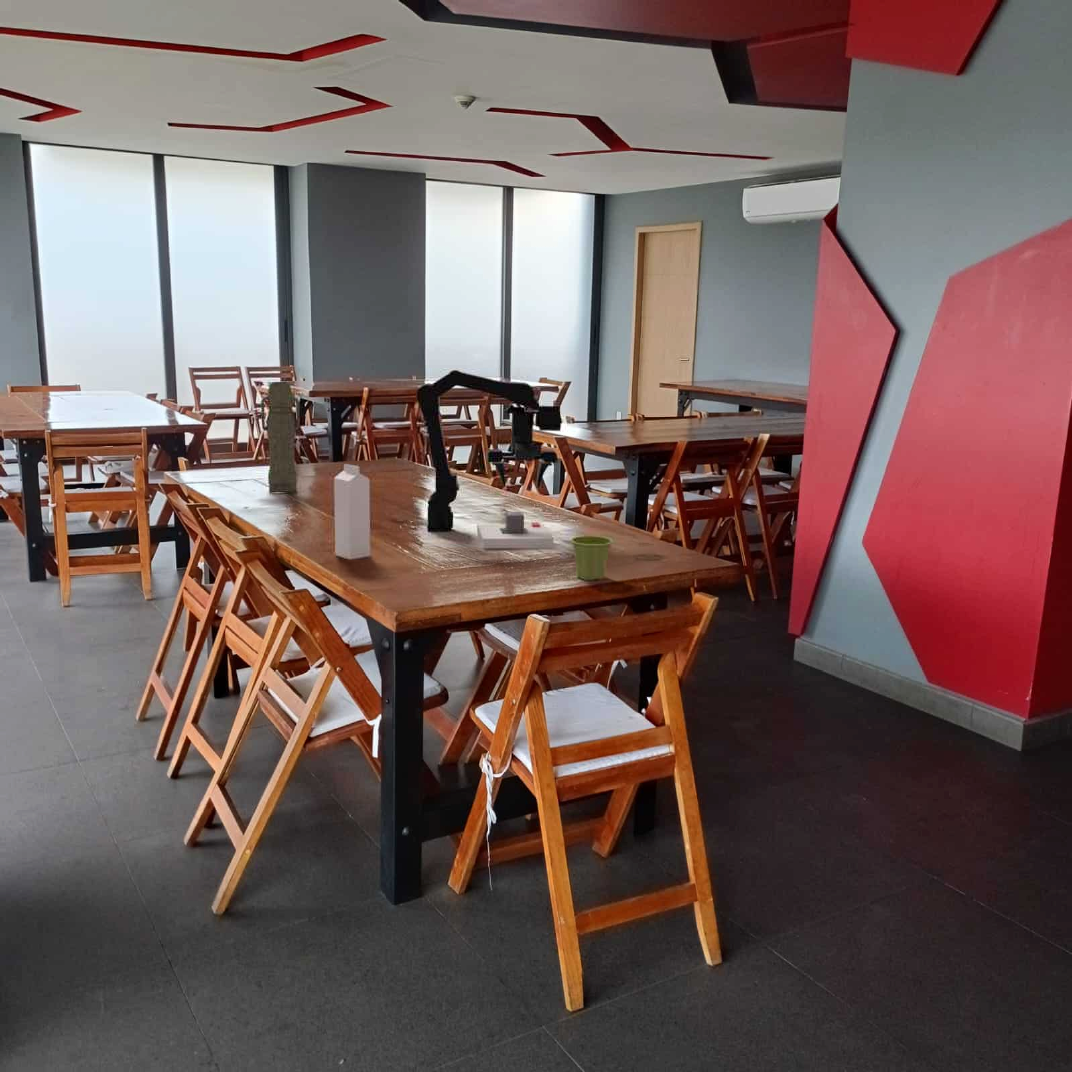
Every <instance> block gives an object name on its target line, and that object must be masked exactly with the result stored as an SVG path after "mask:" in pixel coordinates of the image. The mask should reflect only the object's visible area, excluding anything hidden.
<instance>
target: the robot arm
mask: <svg viewBox="0 0 1072 1072" xmlns="http://www.w3.org/2000/svg"><path fill="white" fill-rule="evenodd" d="M457 386H458V387H461V388H466V389H469V390H475V391H479V392H482V393H487V394H491V395H495V396H498V397H501V398H504V399H505V400H508V401H509V402H512V403H510V404H509V406H508V407H507V408H506V409H505V410H504V412H505V414H511V439H510V440H511V441H510V442H511V443H510V444H511V446H510V448H511V449H510V452H509V451H508V452H503V450H502V449H500V448H499V449H494V448H493V449H487V451H486V457H485V459H486V461H487V463H491V464H492V466H495V468H496V470H497V472H498V475H499V478H500V481H501V484H502V487H503V489H504V488H506V479H505V465H504V462H503V460H516V461H517V462H524V461H525V462H526V461H528V462H533V461H534V460H538V466H537V472H536V473H537V474H536V475H537V476H536V488H537V489H539V487H540V485H541V482H542V480H543V477H544V474H545V472H546V470H547V469H548V467H551V466H553V464H555V463H558V454H557V453H556V451H554V449H542V442H541V441H540V442H536V441H535V442H534V440H533V438H534V436H533V434H534V433H533V432H534V418H535V427H537V428H538V429H539V431H541V432H542V431H543V432H548V431H549V432H561V430H562V429H561V427H562V418H561V406H560V405H557V404H556V405H540V402H539V401H537V400H536V398H535V391H534V389H533V387H532V386H531V385H530V384H529V383H527V382H523V381H522V382H518V381H502V380H497V379H492V378H488V377H484V376H480V375H474V374H472V373H466V372H463V371H460V370H459V369H453V370H451V371H449V373H448V374H446V375H444V376H443V377H441V378H439V379H438V380H436V381H435V382H433V383H428V382H427V383H424V384H422V385H421V386H420V387H419V388H418V390H417V392H416V400H417V402H418V405H419V408H420V410H421V412H422V415H423V417H424V419H425V423H426V429H427V434H428V439H429V443H430V448H431V454H432V459H433V464H434V469H435V479H434V480H435V483H434V485H435V491H434V492H433V493H432V494H431V495H430V496H429V497H428V500H427V524H426V530H427V532H452V529H453V528H454V512H453V511H452V507H451V506H452V505H450V504H451V503H452V502H454V501H455V500H456V498H457V496H458V492H459V491H460V487H461V486H460V483H459V481H458V472H452V470H451V468H450V465H449V459H448V454H447V448H446V444H445V439H444V434H443V429H442V428H443V427H442V423H441V417H440V413H441V412H440V411H441V409H440V407H441V402H440V401H441V400H440V397H441V396H443V395H444V394H445V393H447V392H449V391H450V390H451V389H453V388H455V387H457ZM513 403H514V404H517V405H519V406H514V405H513ZM526 406H527V407H528V408H529V409H530V410H526ZM534 415H535V417H534Z"/></svg>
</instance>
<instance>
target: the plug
mask: <svg viewBox="0 0 1072 1072" xmlns="http://www.w3.org/2000/svg"><path fill="white" fill-rule="evenodd" d="M504 513H505V514H504V524H505V534H524V524H525V515H524V514H523V513H522V511H506V512H504Z"/></svg>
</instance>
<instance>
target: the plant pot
mask: <svg viewBox="0 0 1072 1072" xmlns="http://www.w3.org/2000/svg"><path fill="white" fill-rule="evenodd" d="M570 542H571V543H572V548H573V549H574V556H575V557H574V559H575V566H576V575H577V577H578V578H580V580H586V581H593V580H596V579H597V580H602V579H604V578H605V576H606V575H605V573H606V569H607V568H606V567H607V562H608V556H609V550H610V549H611V545H612V544H613V540H612V539H611V538H610V537H609V538H608V537H604V536H597V535H579V536H575V537H572V538H571V539H570Z"/></svg>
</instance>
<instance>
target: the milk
mask: <svg viewBox="0 0 1072 1072" xmlns="http://www.w3.org/2000/svg"><path fill="white" fill-rule="evenodd" d="M333 485H334V489H333V490H334V491H333V492H334V494H333V495H334V497H333V498H334V545H335V546H334V547H335V548H334V550H335V551H334V555H335V556H338V557H340V558H344V559H347V560H356V559H361V558H366V557H367V558H368V557H370V556H371V527H370V523H371V518H370V512H371V511H370V509H371V507H370V502H371V501H370V497H371V496H370V492H371V491H370V478H368V477H367V476H365V475H363V474H362V473H360V466H358V465H354V464H353V465H352V464H349V463H348V464H347V463H344V464H343V470H342V471H341V472H340V473H338V474H337V475H336V476H335V477H334V479H333Z"/></svg>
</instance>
